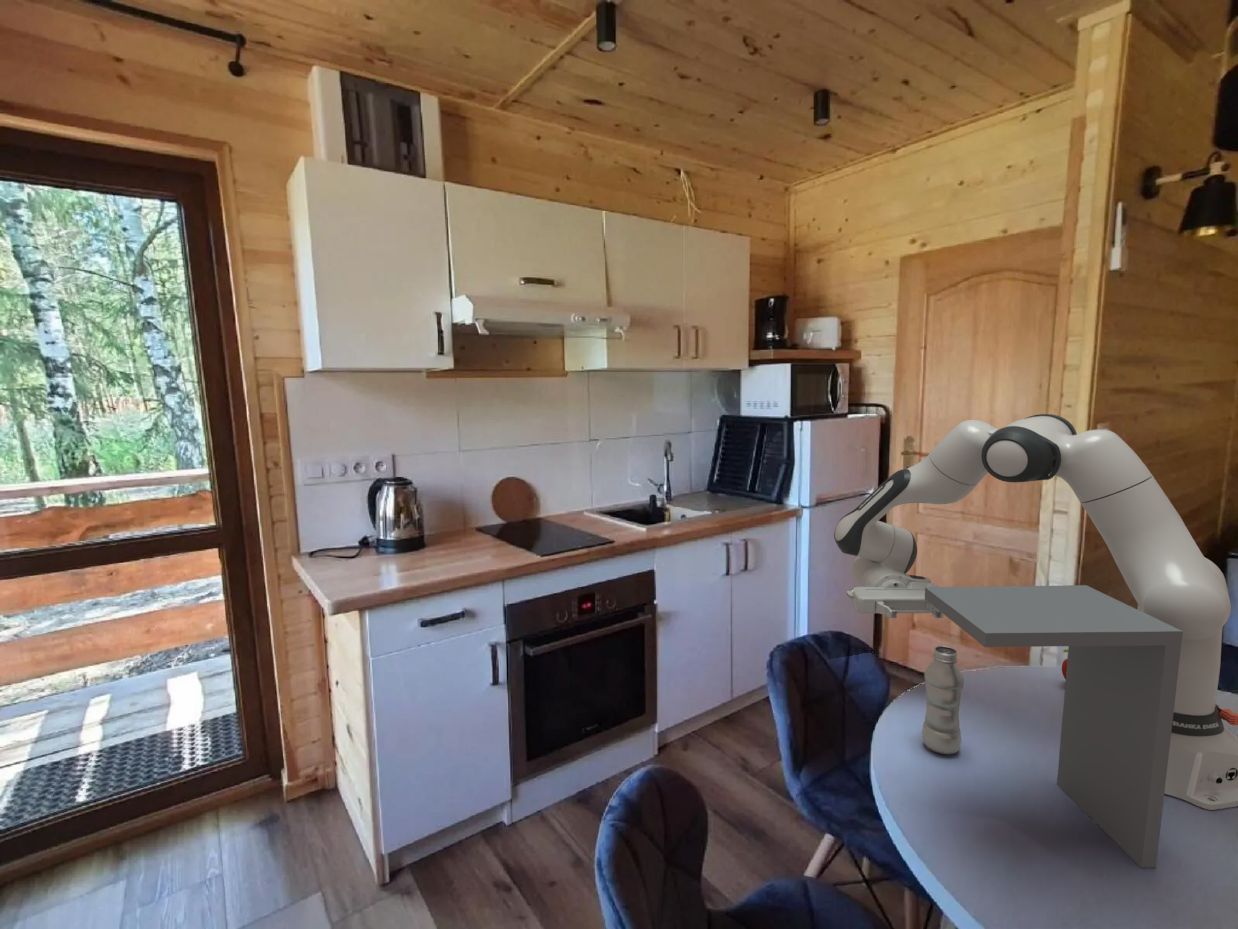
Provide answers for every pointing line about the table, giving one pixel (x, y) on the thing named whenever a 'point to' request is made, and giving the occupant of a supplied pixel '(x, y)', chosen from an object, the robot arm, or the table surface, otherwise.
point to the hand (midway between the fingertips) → (916, 614)
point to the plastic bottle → (943, 702)
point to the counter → (1093, 694)
